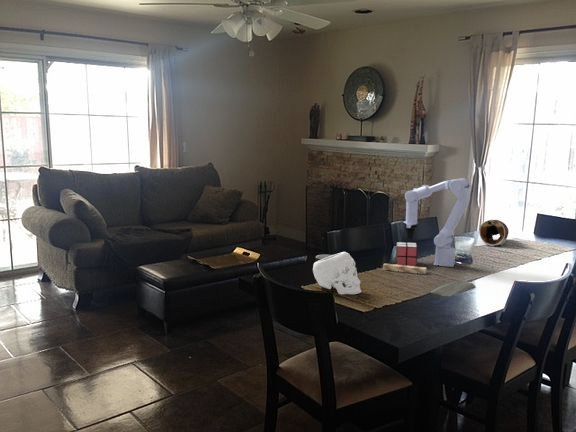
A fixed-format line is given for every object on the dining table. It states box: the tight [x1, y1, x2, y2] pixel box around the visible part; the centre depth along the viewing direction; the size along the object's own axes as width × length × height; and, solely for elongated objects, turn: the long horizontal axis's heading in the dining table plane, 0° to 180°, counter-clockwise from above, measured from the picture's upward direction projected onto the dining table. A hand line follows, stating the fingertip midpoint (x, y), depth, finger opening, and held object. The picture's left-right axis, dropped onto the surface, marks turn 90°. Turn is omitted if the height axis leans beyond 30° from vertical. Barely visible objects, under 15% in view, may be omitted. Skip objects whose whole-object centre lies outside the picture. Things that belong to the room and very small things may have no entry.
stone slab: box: [430, 279, 476, 297], centre depth 218 cm, size 22×3×10 cm
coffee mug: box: [315, 254, 333, 262], centre depth 235 cm, size 12×9×10 cm
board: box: [382, 263, 427, 275], centre depth 246 cm, size 20×3×2 cm, turn 67°
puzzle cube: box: [395, 241, 418, 267], centre depth 260 cm, size 10×10×10 cm
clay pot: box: [478, 219, 510, 247], centre depth 308 cm, size 15×15×25 cm
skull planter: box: [312, 251, 362, 295], centre depth 218 cm, size 14×20×19 cm
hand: (410, 239), depth 269 cm, fingers closed
